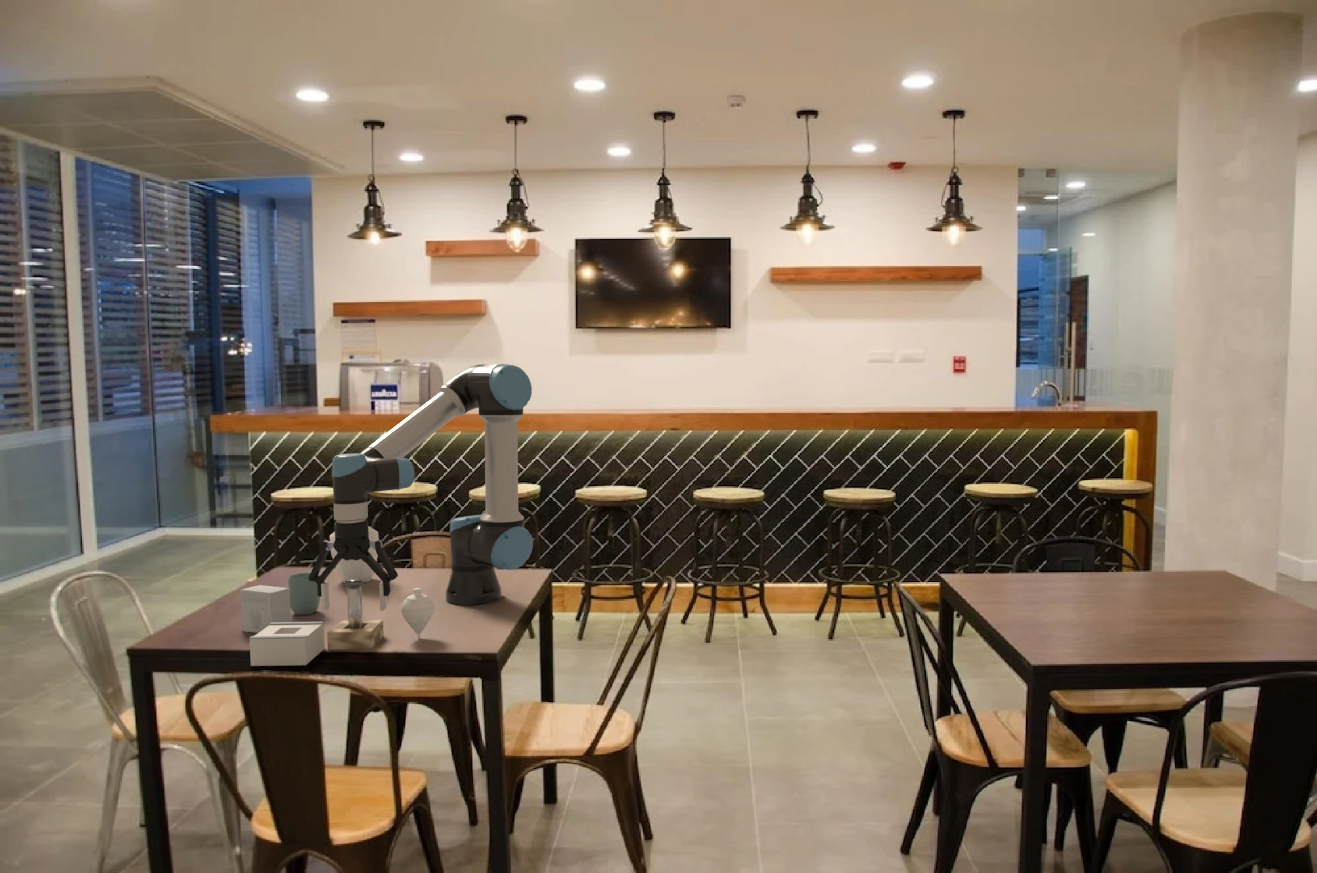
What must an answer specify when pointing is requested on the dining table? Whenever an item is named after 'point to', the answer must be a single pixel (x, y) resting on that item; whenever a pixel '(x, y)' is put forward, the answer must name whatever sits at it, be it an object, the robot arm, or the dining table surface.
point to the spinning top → (417, 610)
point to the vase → (356, 562)
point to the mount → (355, 635)
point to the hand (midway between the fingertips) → (354, 609)
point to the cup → (303, 594)
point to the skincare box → (264, 607)
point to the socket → (287, 643)
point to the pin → (354, 603)
